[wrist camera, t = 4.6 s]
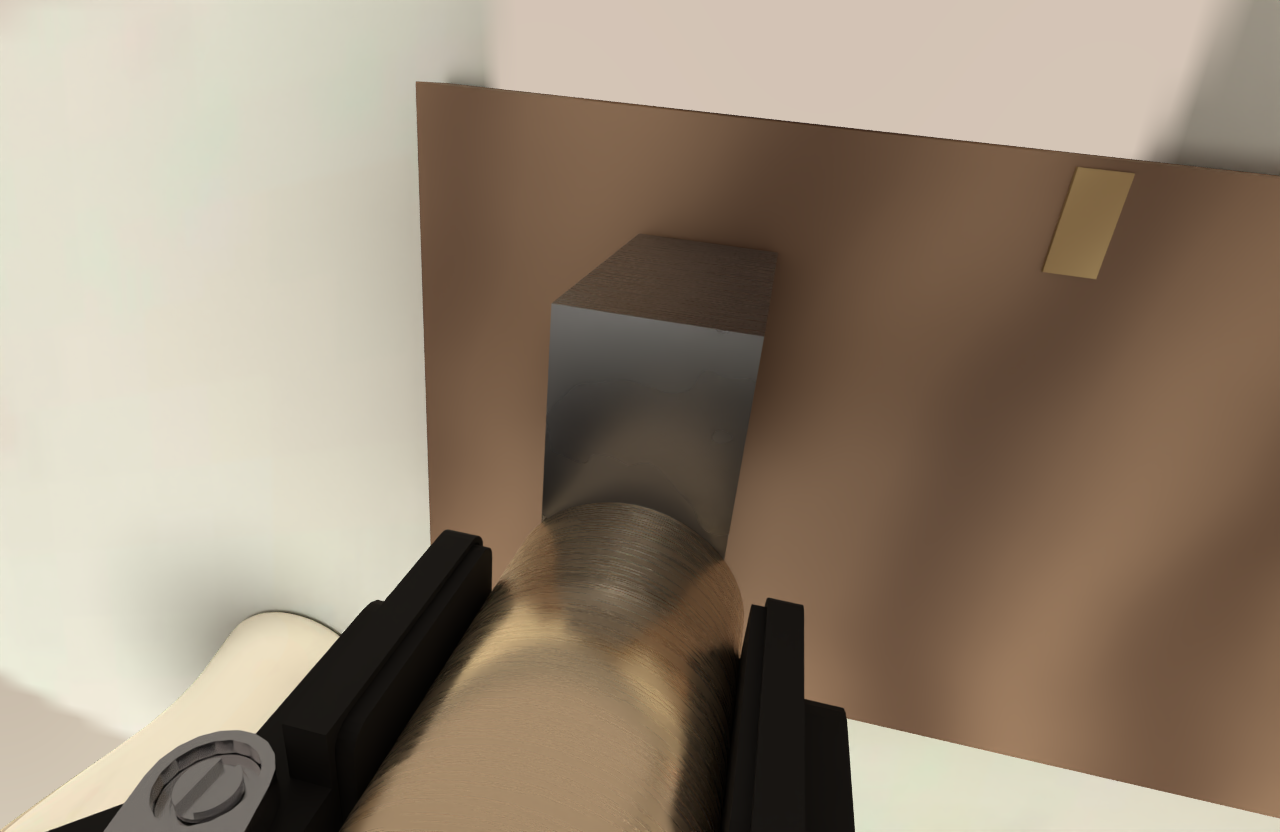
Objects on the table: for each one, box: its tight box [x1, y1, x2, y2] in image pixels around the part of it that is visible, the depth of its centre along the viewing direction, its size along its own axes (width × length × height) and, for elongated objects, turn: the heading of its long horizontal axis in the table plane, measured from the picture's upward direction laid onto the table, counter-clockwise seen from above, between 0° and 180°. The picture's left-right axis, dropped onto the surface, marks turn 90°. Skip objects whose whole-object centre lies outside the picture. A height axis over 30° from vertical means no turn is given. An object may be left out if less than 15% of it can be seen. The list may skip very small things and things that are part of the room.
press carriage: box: [339, 233, 778, 832], centre depth 12 cm, size 4×10×12 cm, turn 175°
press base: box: [416, 82, 1280, 818], centre depth 14 cm, size 28×15×8 cm, turn 85°
